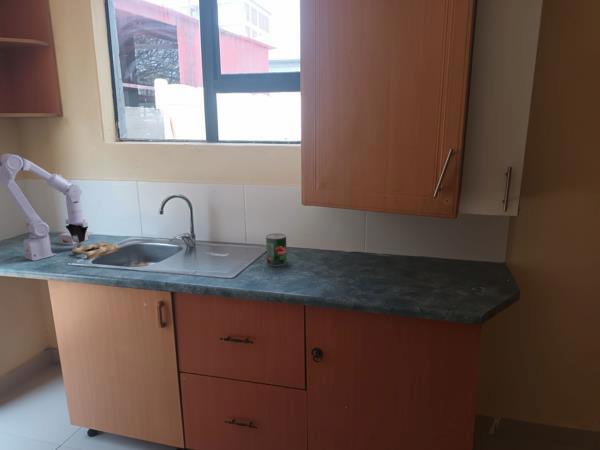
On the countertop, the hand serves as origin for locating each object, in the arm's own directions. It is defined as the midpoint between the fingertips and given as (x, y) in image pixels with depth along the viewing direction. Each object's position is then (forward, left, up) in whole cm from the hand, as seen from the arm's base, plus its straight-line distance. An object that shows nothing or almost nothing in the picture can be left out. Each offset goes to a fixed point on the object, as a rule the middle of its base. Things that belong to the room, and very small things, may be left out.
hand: (78, 240), depth 198 cm
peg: (0, 0, -3) cm, 3 cm away
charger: (+8, +14, -4) cm, 17 cm away
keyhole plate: (0, -13, -4) cm, 13 cm away
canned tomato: (+29, -89, -4) cm, 94 cm away
